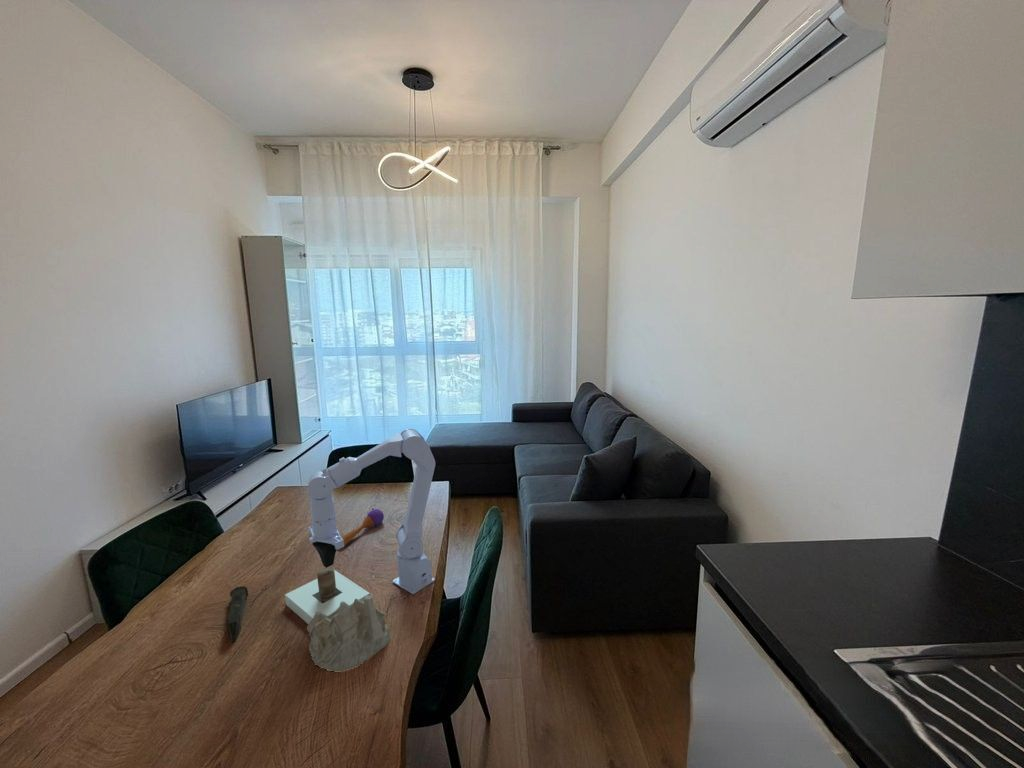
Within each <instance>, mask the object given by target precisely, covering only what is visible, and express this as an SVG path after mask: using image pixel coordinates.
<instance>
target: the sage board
mask: <svg viewBox="0 0 1024 768" xmlns="http://www.w3.org/2000/svg"><path fill="white" fill-rule="evenodd" d="M334 572H335V582H336V590H335V595H336V596H335V597H334V598H332V599H330V600H328V601H326V602H325V603H323V604H322V603H321V597H320V594H319V588H318V579H317V578H315V579H313V580H311V581H309V582H307V583H305V584H303V585H301V586H299V587H297V588H295V589H293V590H291V591H289V592H287V593H286V594H284V596H285V597H284V598H285V605H286V606H287V607H288V608H289V609H290V610H292V611H293V613H295V614H296V615H297V616H298V617H299V618H300V619H302V620H303V621H304V622H305V623H306V624H307V625H309V623H310V621H311V620H312V619H313V618H314V615H315V614H316V612H318V611H319V612H321V613H322V614H325V615H326V616H329V615H330V614H331V613H333V612H334V611H335V610H336V609H337V608H338V607H340V603H341V602H342V601H343V602H346V604H348V605H351V604H353V603H354V600H355V599H356V598H357V599H358V600H360V601H362V602H364V599H365V597H366V596H371V594H370V592H369V591H367V590H365V589H364V587H361V586H360V585H358V584H357V583H355V582H354V581H352V580H351V579H349V578H347V576H345V575H343V574H341V573H340V572H339V571H337V570H335V569H334Z"/></svg>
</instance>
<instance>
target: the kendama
mask: <svg viewBox="0 0 1024 768" xmlns="http://www.w3.org/2000/svg"><path fill="white" fill-rule="evenodd" d="M384 518H385V517H384V512H383V511H382V510H381V509H378V508H374V509H371V510H370V511H368V513H367V515H366V517H364V520H363V522H362V524H361V525H360V526H359V527H357V528H355V529H353V530H351V531H350V532H348V533H345V534H344V535H343V536H341V538H342V539H343V540H344V547H346V546H347V544H349V543H350V542H351V540H353V539H354V537H356V536H357V535H358V534H359V533H360V532H361V531H362V530H363V529H369V528H373V527H375V526H379V525H381V524H382V523H383V521H384Z"/></svg>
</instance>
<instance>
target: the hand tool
mask: <svg viewBox="0 0 1024 768" xmlns="http://www.w3.org/2000/svg"><path fill="white" fill-rule="evenodd" d="M248 596H249V590H248V588H247V586H245V585H243V586H237V587H235V588H233V589H232V590H231V591H230V592H229V597H231V598H230V599H231V600H230V602H229V603H228V607H229V613H228V615H227V621H226V622H227V631H228V636H229V637H230V640H231V642H232V643H235V641H236V640H237V639H238V637H239V635H240V631H241V630H242V620H243V615H244V610H245V605H246V599H247V597H248Z"/></svg>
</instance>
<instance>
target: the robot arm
mask: <svg viewBox="0 0 1024 768" xmlns="http://www.w3.org/2000/svg"><path fill="white" fill-rule="evenodd" d="M402 454H403V455H404V456H405V457H406V458H408V459H409V460H411V461H413V463H415V465H416V469H415V472H414V477H413V481H412V486H411V489H410V494H409V498H408V499H409V500H408V503H407V504H408V505H407V508H406V512H405V513H406V514H405V517H403V519H402V522H401V525H400V526H399V527H398V529H397V531H396V533H395V535H396V541H397V542H398V549H397V551H396V554H397V555H396V556H397V572H398V576H397V577H396V578H394V579H393V580H392V583H393V584H395V585H396V586H399V588H402V589H403V590H404V591H407V592H408V593H410V594H412V595H415V594H416V593H418V592H419V591H421V590H422V589H424V588H426V587H427V586H429V585H430V584H432V583H433V582H435V578H434V577H433V572H432V571H433V568H432V561H431V559H430V558H428V557H427V556H426V554H425V553H424V543H423V540H422V539H423V532H424V531H423V521H424V518H425V513H426V512H425V511H426V509H427V502H428V500H429V499H428V498H429V495H430V490H431V485H432V481H433V476H434V474H435V473H434V472H435V468H436V460H435V457H434V455H433V453H432V450H431V448H430V445H429V444H428V443H427V441H426V439H425V438H424V436H422V434H421V433H420V432H419V431H418V430H416V429H415V428H414V429H413V428H407V429H404V430H402V431H401V432H398V433H394V434H393V435H392V436H390V437H389V438H387V439H386V440H384V441H382V442H381V443H379V444H377V445H376V446H374V447H372V448H369V450H367V451H366V452H364V453H362V454H361V455H358V456H357V457H352V456H348V457H346V458H345V457H344V456H343V457H341V458H339V460H338V461H339V462H336V463H334V464H333V465H331V466H329V467H328V468H326V467H324V468H322V469H321V471H316V472H314V473H313V474H312V475H311V476H310V477H309V479H308V484H307V493H308V495H309V500H310V503H309V505H310V506H309V507H310V515H311V516H310V517H311V524H312V525H310V526H308V534H309V535H311V537H309V538H308V539H309V542H311V543H312V546H313V547H314V548H315V550H316V551H317V553H318V556H319V557H320V560H321V563H322V565H323V567H325V569H327V568H330V567H331V566H333V565H334V562H335V558H336V554H337V550H340V549H342V548H344V547H345V546H344V540H343V539H342V538H341V537H342V536H341V535H340V532H339V530H338V527H337V517H336V516H337V515H336V506H335V499H334V496H333V490H334V489H338V488H339V487H342V486H343V485H345V484H347V483H349V482H350V481H353V480H354V479H356V478H357V477H360V475H361V472H362V470H363V469H365V468H367V467H369V466H370V465H373V464H375V463H377V462H378V461H381V460H383V459H385V458H387V457H389V456H390V457H391V456H392V457H398V458H402Z"/></svg>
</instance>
